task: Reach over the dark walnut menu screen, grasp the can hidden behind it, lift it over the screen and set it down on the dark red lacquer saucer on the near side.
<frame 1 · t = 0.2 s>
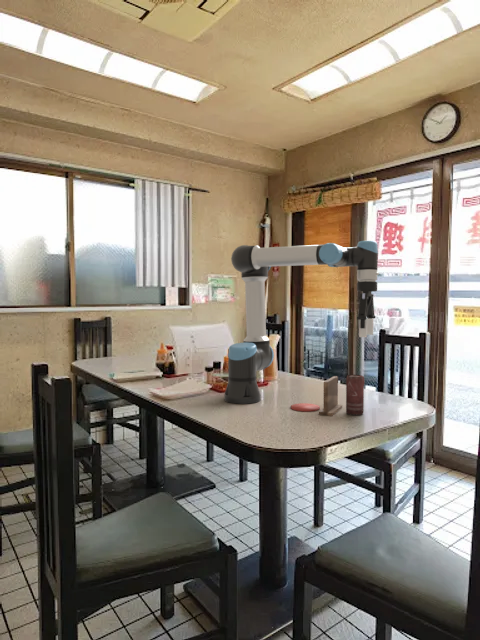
hand: (366, 335, 174), 27 cm above the table, fingers open, 13 cm apart
can: (355, 414, 162), on the table
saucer: (305, 408, 171), on the table
screen: (330, 410, 166), on the table
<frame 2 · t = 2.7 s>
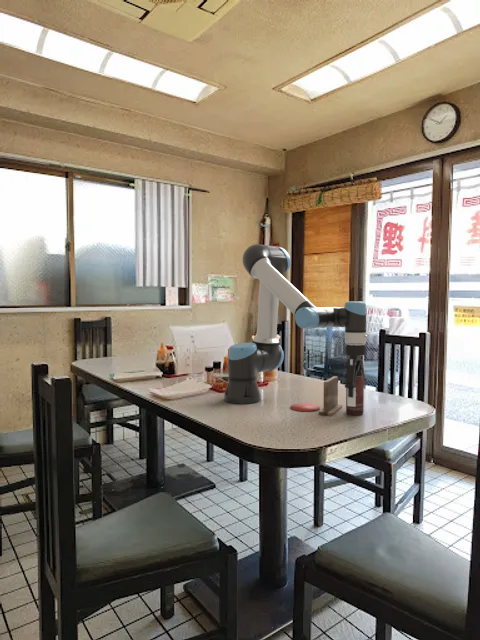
hand: (355, 402, 162), 4 cm above the table, fingers open, 13 cm apart
nothing on the table moved.
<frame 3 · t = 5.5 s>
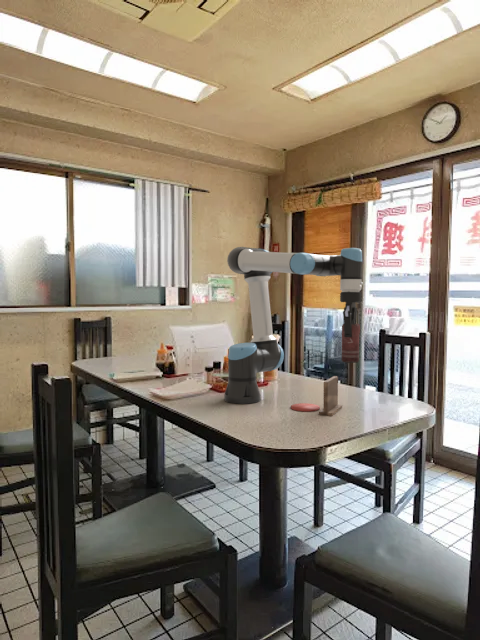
hand: (349, 356, 163), 21 cm above the table, fingers closed
can: (350, 362, 162), point 19 cm above the table, touching hand
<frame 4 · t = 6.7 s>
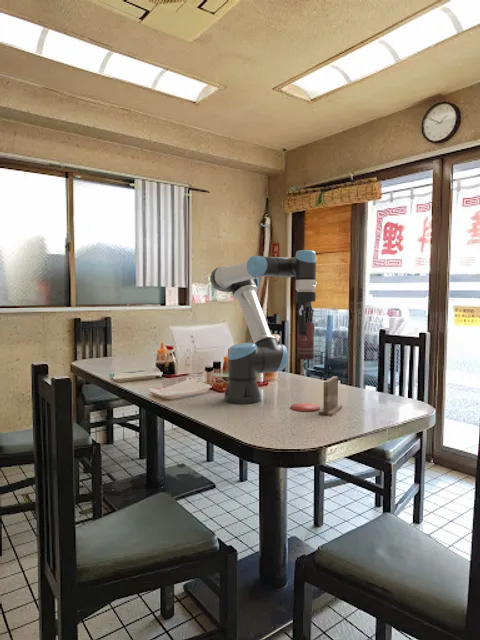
hand: (305, 353, 170), 21 cm above the table, fingers closed
can: (305, 359, 170), point 19 cm above the table, touching hand
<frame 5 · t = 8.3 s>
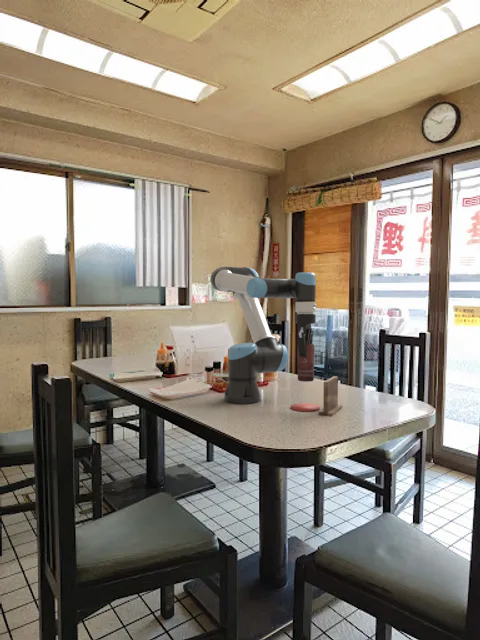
hand: (305, 374, 170), 13 cm above the table, fingers closed
can: (306, 381, 170), point 11 cm above the table, touching hand
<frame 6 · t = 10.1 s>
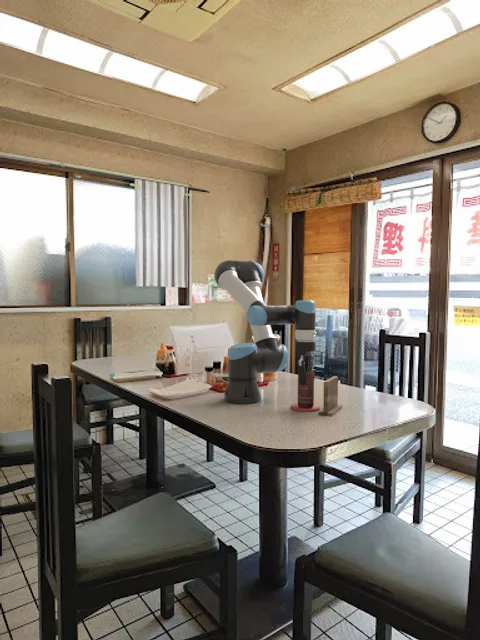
hand: (305, 402, 171), 2 cm above the table, fingers closed
can: (305, 407, 170), resting on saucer, touching hand
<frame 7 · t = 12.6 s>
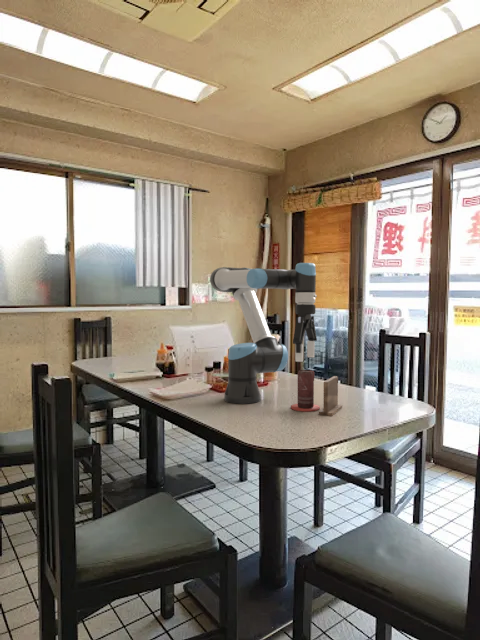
hand: (305, 359, 170), 19 cm above the table, fingers open, 13 cm apart
can: (305, 407, 170), resting on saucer
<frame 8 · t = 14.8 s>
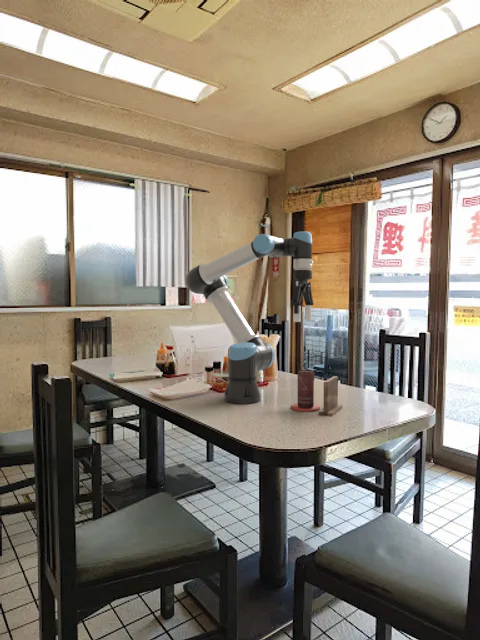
hand: (302, 321, 185), 33 cm above the table, fingers open, 13 cm apart
nothing on the table moved.
at the end: can 0.7 cm from the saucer (horizontally); can touching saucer; can tilted 0° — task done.
